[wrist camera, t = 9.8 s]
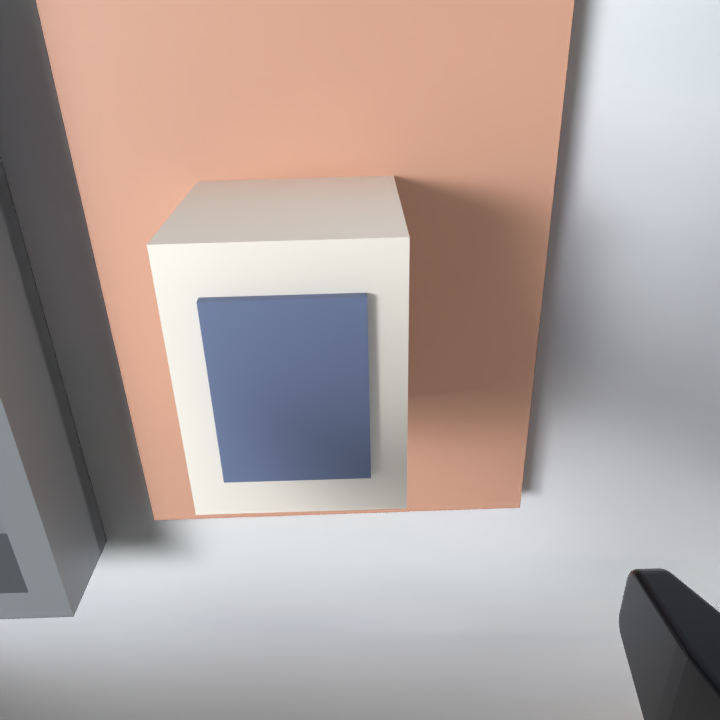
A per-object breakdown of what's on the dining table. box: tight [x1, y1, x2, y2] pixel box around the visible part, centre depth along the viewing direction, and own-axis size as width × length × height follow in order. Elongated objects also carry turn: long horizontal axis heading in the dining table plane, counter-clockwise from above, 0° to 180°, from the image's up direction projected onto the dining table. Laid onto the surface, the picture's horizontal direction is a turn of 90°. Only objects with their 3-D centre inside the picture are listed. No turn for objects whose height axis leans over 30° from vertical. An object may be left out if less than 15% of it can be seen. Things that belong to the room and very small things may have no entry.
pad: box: [36, 0, 574, 520], centre depth 17 cm, size 14×11×1 cm
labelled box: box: [147, 176, 410, 515], centre depth 15 cm, size 6×4×5 cm
